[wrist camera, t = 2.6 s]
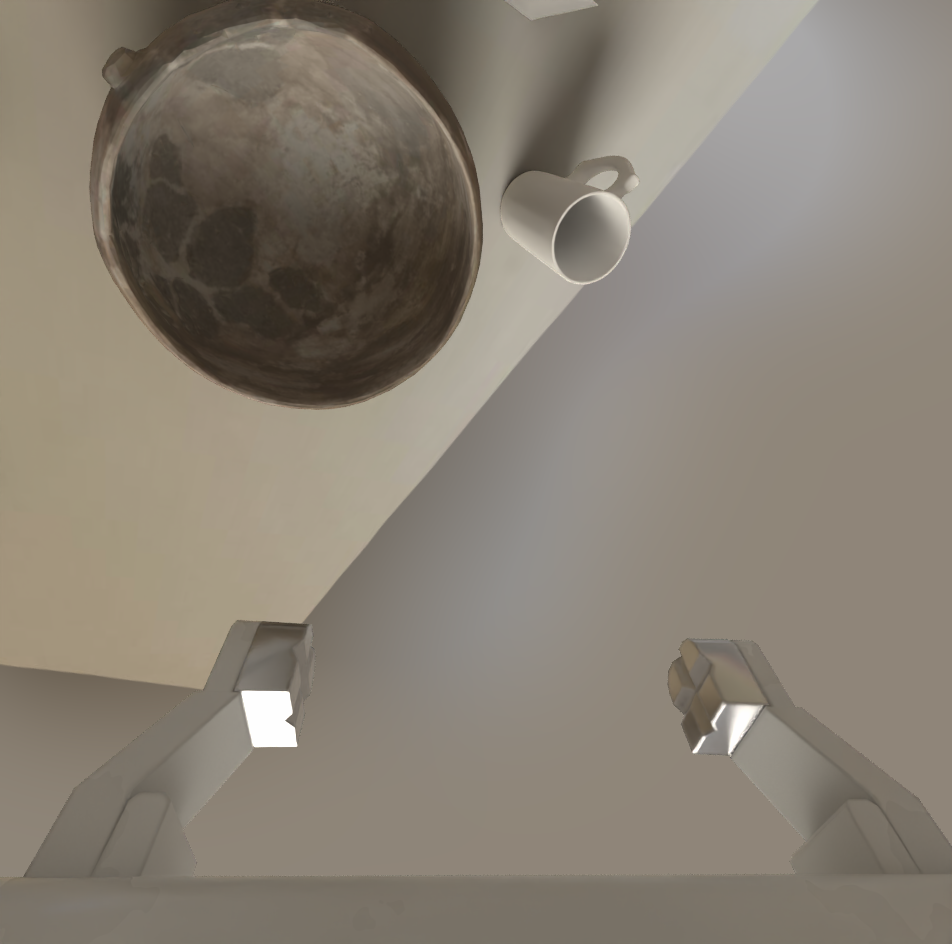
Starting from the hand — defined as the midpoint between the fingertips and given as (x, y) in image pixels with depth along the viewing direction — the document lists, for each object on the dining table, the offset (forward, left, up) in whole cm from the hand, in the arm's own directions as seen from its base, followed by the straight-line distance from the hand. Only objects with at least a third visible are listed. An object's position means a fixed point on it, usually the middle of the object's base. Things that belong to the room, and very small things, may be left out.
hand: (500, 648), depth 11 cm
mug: (-2, +20, -44) cm, 48 cm away
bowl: (-1, -2, -44) cm, 44 cm away
